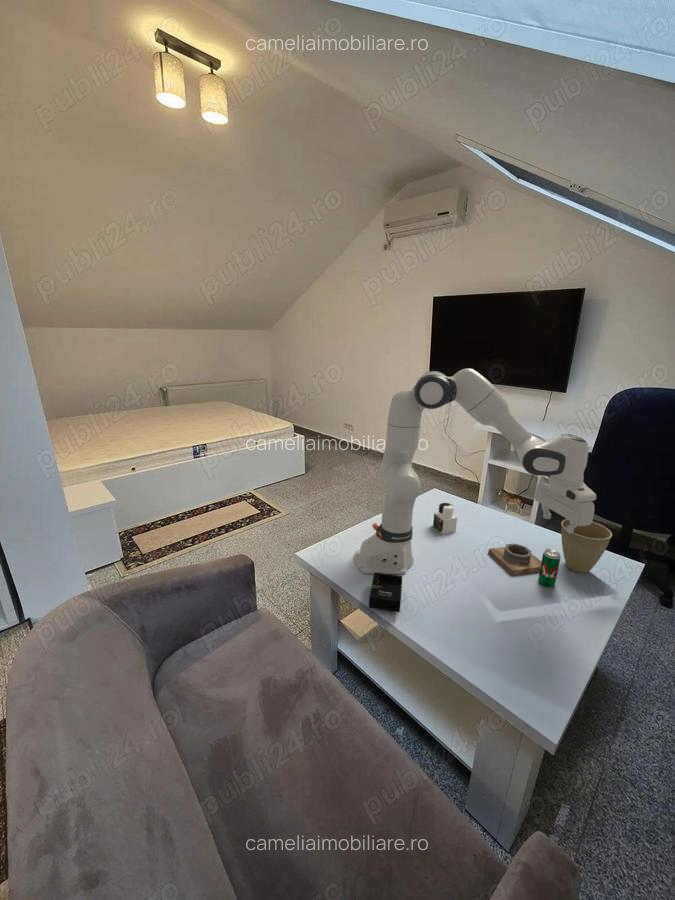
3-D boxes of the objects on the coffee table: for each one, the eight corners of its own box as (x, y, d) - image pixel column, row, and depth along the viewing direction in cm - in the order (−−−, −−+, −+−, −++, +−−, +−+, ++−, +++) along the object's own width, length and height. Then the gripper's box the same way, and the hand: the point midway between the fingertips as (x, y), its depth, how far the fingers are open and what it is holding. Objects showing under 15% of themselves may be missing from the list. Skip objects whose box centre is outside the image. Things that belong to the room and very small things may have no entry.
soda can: (555, 581, 123) (561, 550, 120) (554, 589, 119) (561, 558, 116) (538, 576, 126) (544, 546, 122) (537, 584, 122) (543, 553, 118)
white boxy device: (432, 527, 159) (434, 502, 156) (446, 524, 161) (449, 500, 158) (441, 534, 153) (444, 509, 149) (456, 532, 155) (458, 507, 151)
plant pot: (601, 563, 134) (610, 525, 129) (602, 585, 122) (613, 544, 117) (554, 550, 141) (562, 514, 137) (552, 570, 130) (560, 531, 125)
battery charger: (399, 612, 109) (400, 602, 108) (368, 608, 111) (369, 597, 110) (401, 585, 121) (402, 575, 120) (373, 581, 123) (374, 571, 122)
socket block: (511, 575, 127) (513, 563, 125) (488, 553, 140) (489, 541, 138) (546, 570, 129) (548, 558, 128) (520, 549, 142) (522, 538, 141)
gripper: (532, 474, 122) (526, 511, 126) (583, 499, 102) (574, 542, 106) (548, 473, 123) (542, 509, 127) (601, 497, 104) (592, 539, 108)
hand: (557, 524), depth 116 cm, fingers open, 8 cm apart
